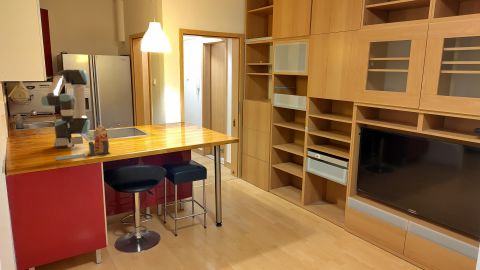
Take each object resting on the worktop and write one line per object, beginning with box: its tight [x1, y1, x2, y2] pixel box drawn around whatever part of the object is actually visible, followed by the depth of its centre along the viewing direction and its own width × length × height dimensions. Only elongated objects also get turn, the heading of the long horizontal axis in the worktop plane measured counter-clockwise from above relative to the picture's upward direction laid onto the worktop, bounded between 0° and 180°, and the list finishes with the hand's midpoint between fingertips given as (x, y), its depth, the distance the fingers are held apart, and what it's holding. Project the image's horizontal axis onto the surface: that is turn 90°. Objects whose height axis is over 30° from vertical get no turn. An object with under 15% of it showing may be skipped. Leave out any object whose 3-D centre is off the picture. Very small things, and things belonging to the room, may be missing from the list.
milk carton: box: [94, 124, 110, 151], centre depth 275 cm, size 9×9×20 cm
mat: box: [55, 153, 87, 161], centre depth 251 cm, size 9×20×1 cm, turn 122°
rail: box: [54, 135, 84, 146], centre depth 248 cm, size 4×18×5 cm, turn 122°
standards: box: [87, 141, 111, 157], centre depth 260 cm, size 7×15×10 cm, turn 122°
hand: (69, 146), depth 249 cm, fingers closed on rail, 3 cm apart
